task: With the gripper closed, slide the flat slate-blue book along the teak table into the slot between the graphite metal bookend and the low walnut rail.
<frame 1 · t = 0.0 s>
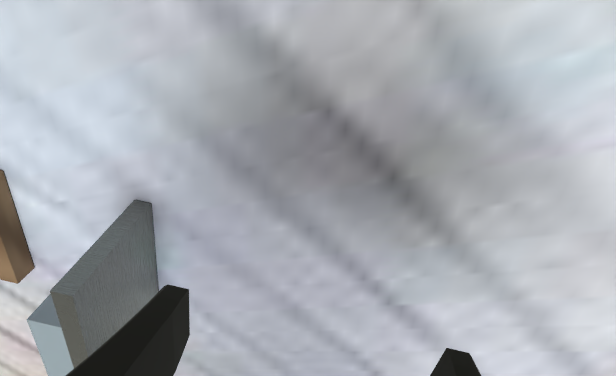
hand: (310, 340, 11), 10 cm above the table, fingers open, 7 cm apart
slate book: (103, 329, 31), on the table
metal bookend: (147, 252, 25), on the table
walnut rail: (11, 221, 25), on the table
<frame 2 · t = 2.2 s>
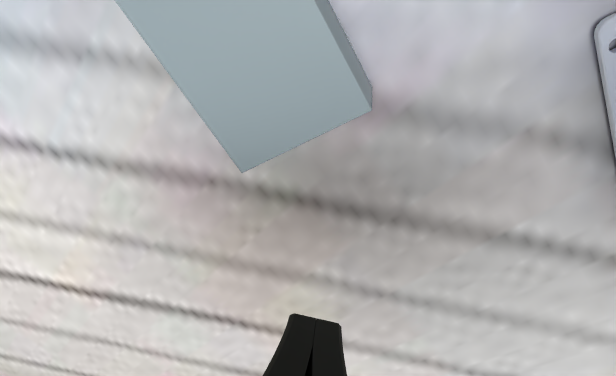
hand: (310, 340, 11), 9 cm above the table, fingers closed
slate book: (264, 34, 16), on the table
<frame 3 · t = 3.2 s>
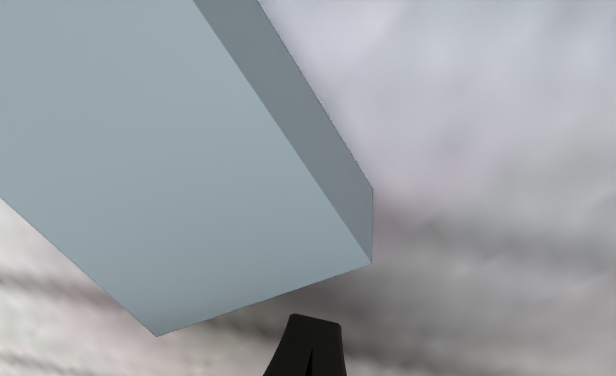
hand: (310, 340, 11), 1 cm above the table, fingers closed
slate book: (187, 105, 10), on the table
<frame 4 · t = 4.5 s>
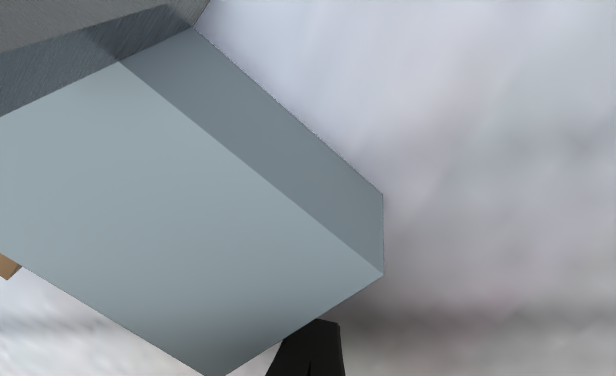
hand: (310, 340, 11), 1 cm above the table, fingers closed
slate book: (193, 162, 10), on the table
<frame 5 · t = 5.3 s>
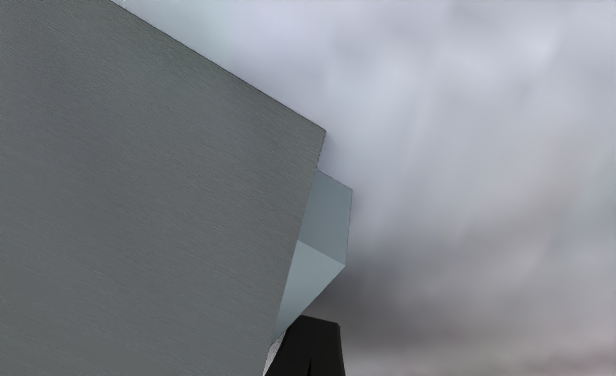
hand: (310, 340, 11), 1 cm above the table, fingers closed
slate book: (174, 188, 11), on the table, touching gripper
metal bookend: (160, 55, 9), on the table
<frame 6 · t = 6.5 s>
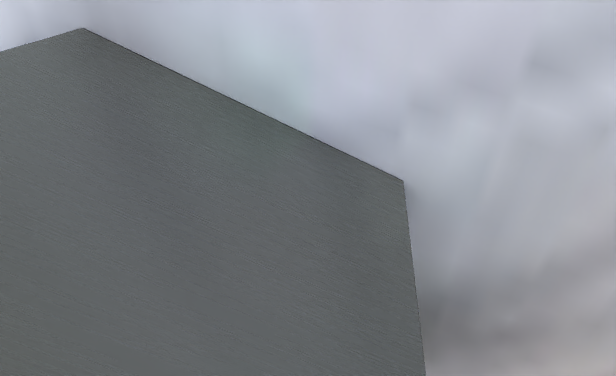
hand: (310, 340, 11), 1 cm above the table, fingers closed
metal bookend: (243, 126, 9), on the table
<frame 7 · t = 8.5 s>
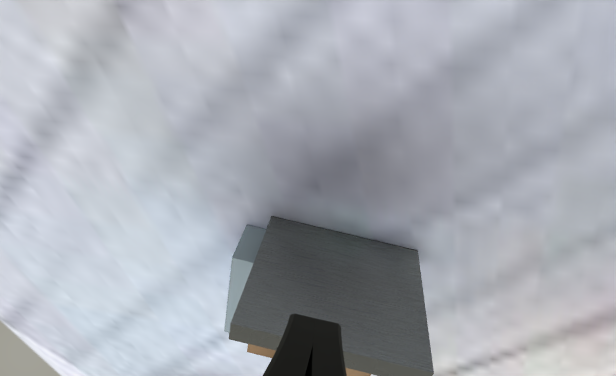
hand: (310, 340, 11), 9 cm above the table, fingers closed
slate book: (308, 275, 23), on the table
metal bookend: (342, 240, 21), on the table
walnut rail: (311, 341, 26), on the table
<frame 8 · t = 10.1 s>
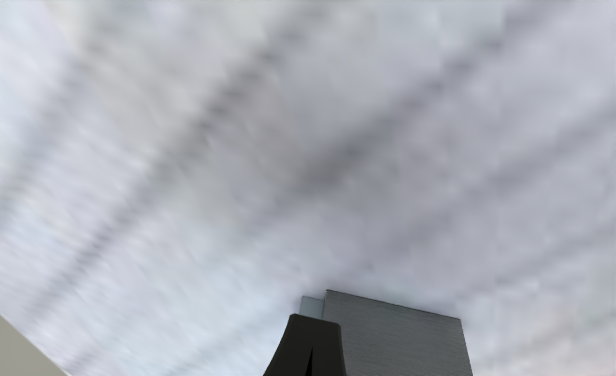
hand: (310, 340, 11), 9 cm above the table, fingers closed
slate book: (356, 336, 26), on the table
metal bookend: (390, 310, 23), on the table
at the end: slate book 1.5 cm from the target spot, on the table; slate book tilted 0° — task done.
